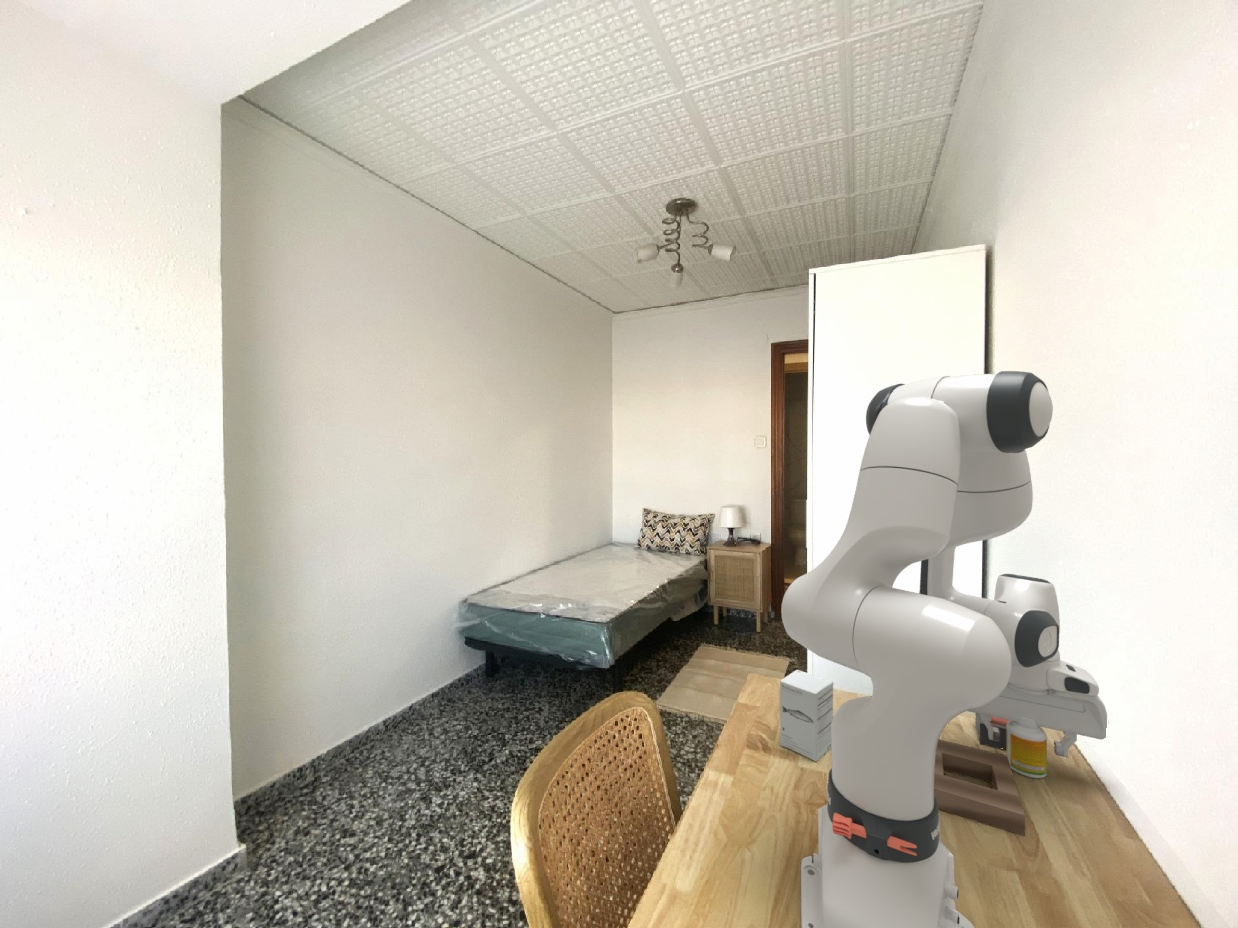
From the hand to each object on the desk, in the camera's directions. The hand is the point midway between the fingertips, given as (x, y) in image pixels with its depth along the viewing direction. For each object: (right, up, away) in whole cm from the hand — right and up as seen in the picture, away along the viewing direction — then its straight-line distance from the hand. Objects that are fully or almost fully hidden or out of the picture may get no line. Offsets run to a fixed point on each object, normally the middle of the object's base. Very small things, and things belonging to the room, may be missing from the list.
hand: (1026, 746), depth 84 cm
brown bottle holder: (-14, -4, -5) cm, 15 cm away
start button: (+3, -1, +9) cm, 9 cm away
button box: (+3, -4, +9) cm, 10 cm away
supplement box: (-35, -5, +8) cm, 36 cm away
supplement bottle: (0, -4, 0) cm, 4 cm away
